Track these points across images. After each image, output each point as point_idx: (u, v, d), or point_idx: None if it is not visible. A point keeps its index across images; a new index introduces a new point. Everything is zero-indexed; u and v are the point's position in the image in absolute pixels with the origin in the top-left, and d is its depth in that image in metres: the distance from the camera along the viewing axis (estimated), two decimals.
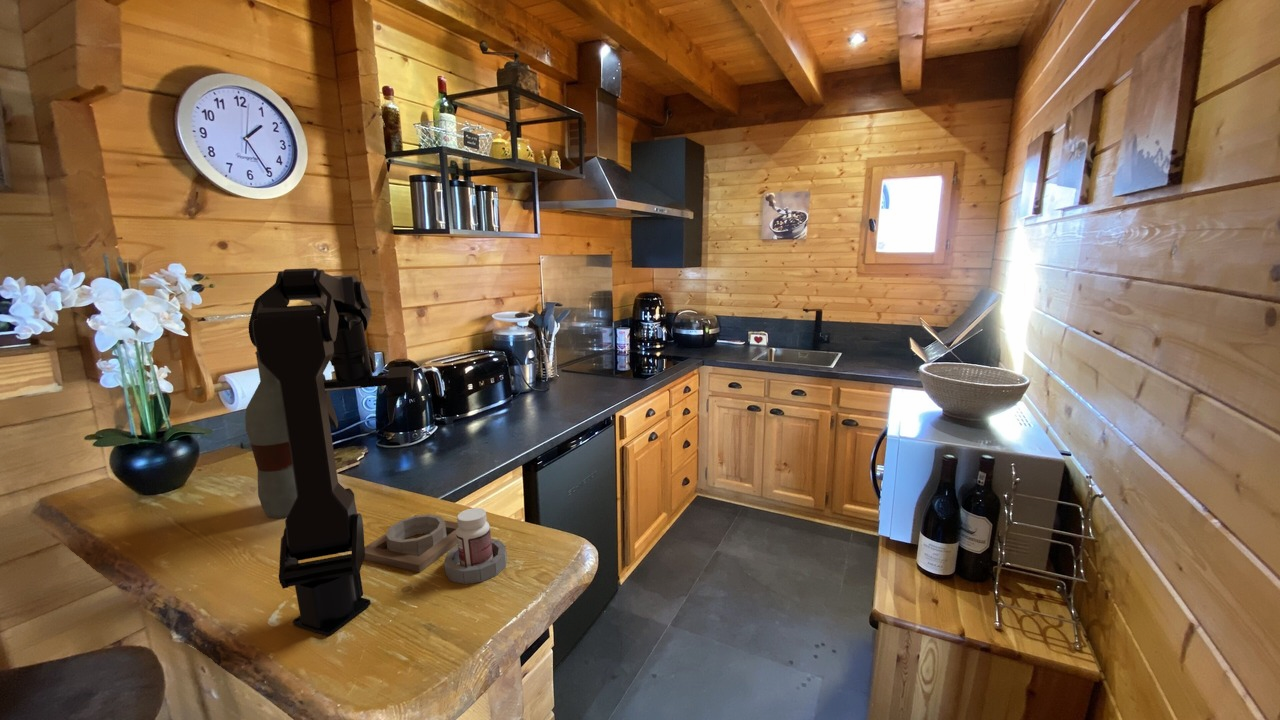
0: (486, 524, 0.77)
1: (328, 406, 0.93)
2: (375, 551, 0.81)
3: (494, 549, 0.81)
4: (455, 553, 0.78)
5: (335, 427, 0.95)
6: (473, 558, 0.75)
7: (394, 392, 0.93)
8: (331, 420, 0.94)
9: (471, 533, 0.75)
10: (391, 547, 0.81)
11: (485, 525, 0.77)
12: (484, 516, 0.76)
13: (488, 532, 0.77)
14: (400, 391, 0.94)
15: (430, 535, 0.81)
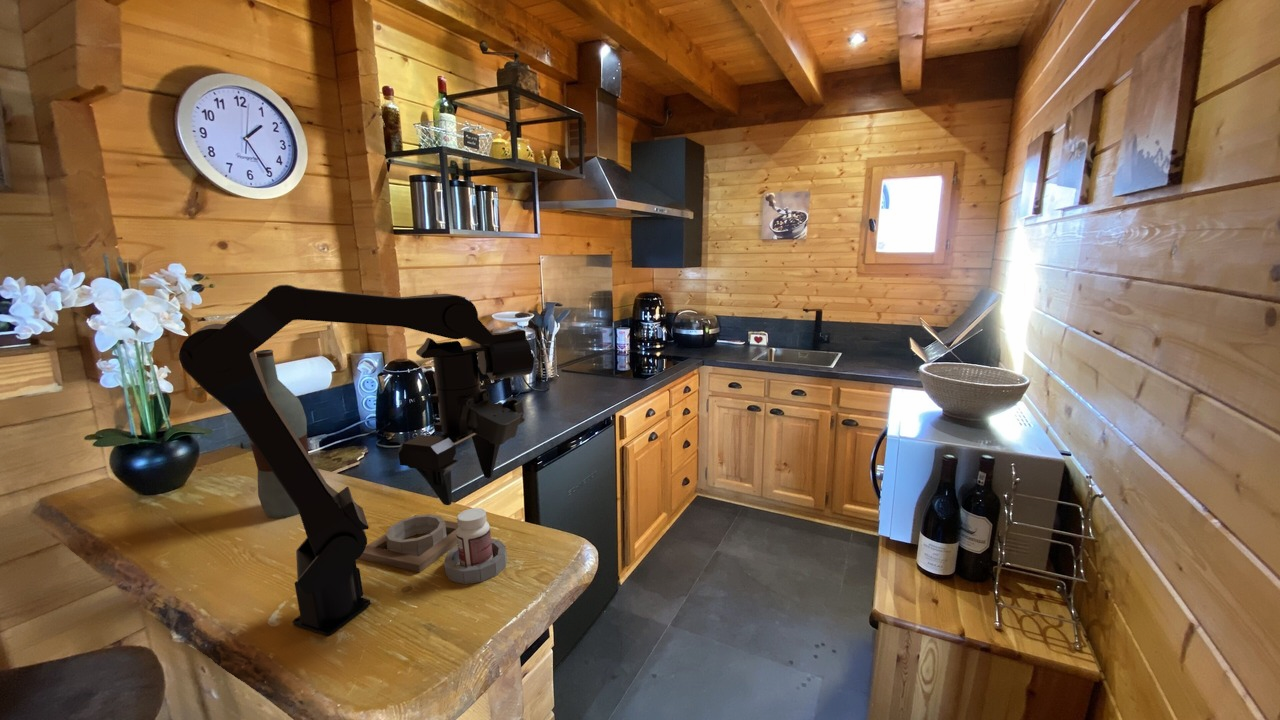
0: (486, 524, 0.77)
1: (482, 446, 0.80)
2: (375, 551, 0.81)
3: (494, 549, 0.81)
4: (455, 553, 0.78)
5: None
6: (473, 558, 0.75)
7: None
8: None
9: (471, 533, 0.75)
10: (391, 547, 0.81)
11: (485, 525, 0.77)
12: (484, 516, 0.76)
13: (488, 532, 0.77)
14: None
15: (430, 535, 0.81)
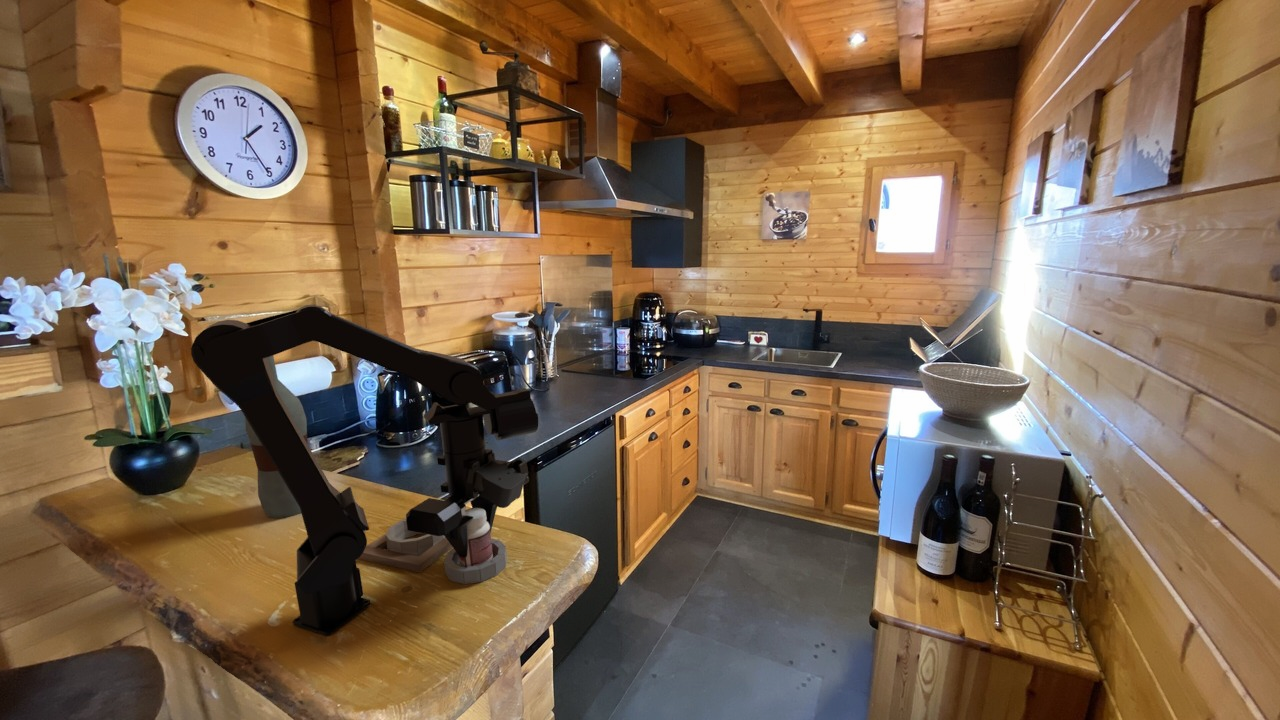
0: (486, 524, 0.77)
1: (479, 507, 0.79)
2: (375, 551, 0.81)
3: (494, 549, 0.81)
4: (455, 553, 0.78)
5: None
6: (473, 557, 0.75)
7: None
8: None
9: (471, 533, 0.75)
10: (391, 547, 0.81)
11: (485, 525, 0.77)
12: (484, 516, 0.76)
13: (488, 532, 0.77)
14: None
15: (430, 535, 0.81)
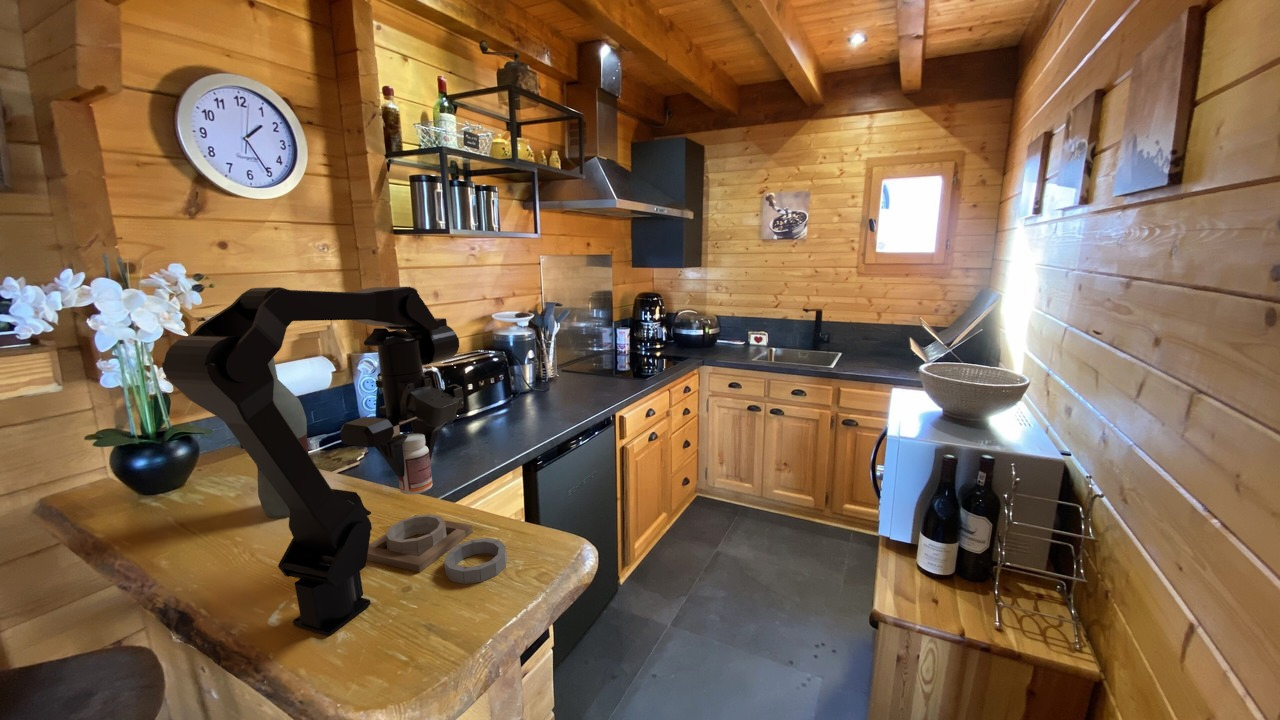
0: (425, 448, 0.81)
1: (420, 433, 0.83)
2: (375, 551, 0.81)
3: (494, 549, 0.81)
4: (455, 553, 0.78)
5: None
6: (411, 478, 0.79)
7: None
8: None
9: (408, 454, 0.79)
10: (391, 547, 0.81)
11: (423, 448, 0.81)
12: (422, 439, 0.80)
13: (426, 455, 0.81)
14: None
15: (430, 535, 0.81)
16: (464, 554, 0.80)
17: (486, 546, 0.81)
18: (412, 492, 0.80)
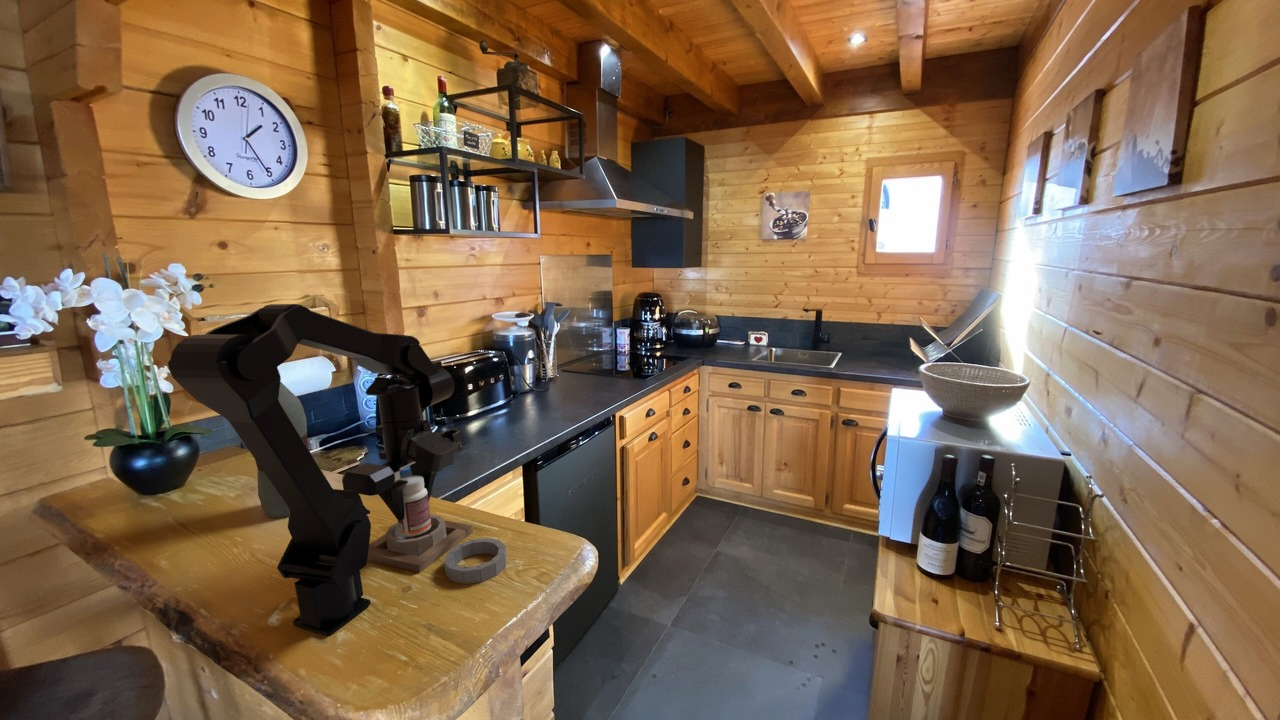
0: (423, 490, 0.83)
1: (419, 475, 0.85)
2: (375, 551, 0.81)
3: (494, 549, 0.81)
4: (455, 553, 0.78)
5: None
6: (410, 520, 0.81)
7: None
8: None
9: (407, 497, 0.81)
10: (391, 547, 0.81)
11: (422, 491, 0.83)
12: (421, 482, 0.82)
13: (425, 497, 0.82)
14: None
15: (430, 535, 0.81)
16: (464, 554, 0.80)
17: (486, 546, 0.81)
18: (412, 534, 0.81)
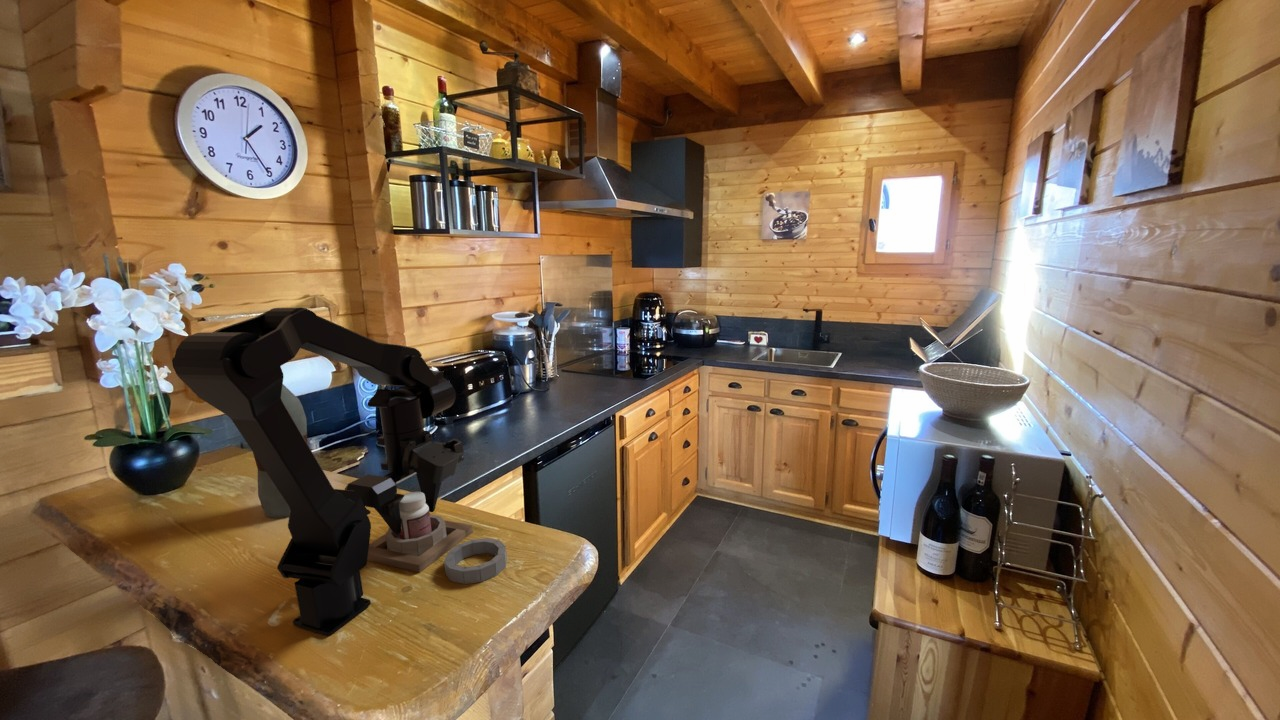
0: (425, 506, 0.83)
1: (425, 482, 0.87)
2: (375, 551, 0.81)
3: (494, 549, 0.81)
4: (455, 553, 0.78)
5: None
6: (412, 537, 0.82)
7: None
8: None
9: (409, 515, 0.81)
10: (391, 547, 0.81)
11: (424, 507, 0.83)
12: (422, 499, 0.82)
13: (426, 514, 0.83)
14: None
15: (430, 535, 0.81)
16: (464, 554, 0.80)
17: (486, 546, 0.81)
18: None
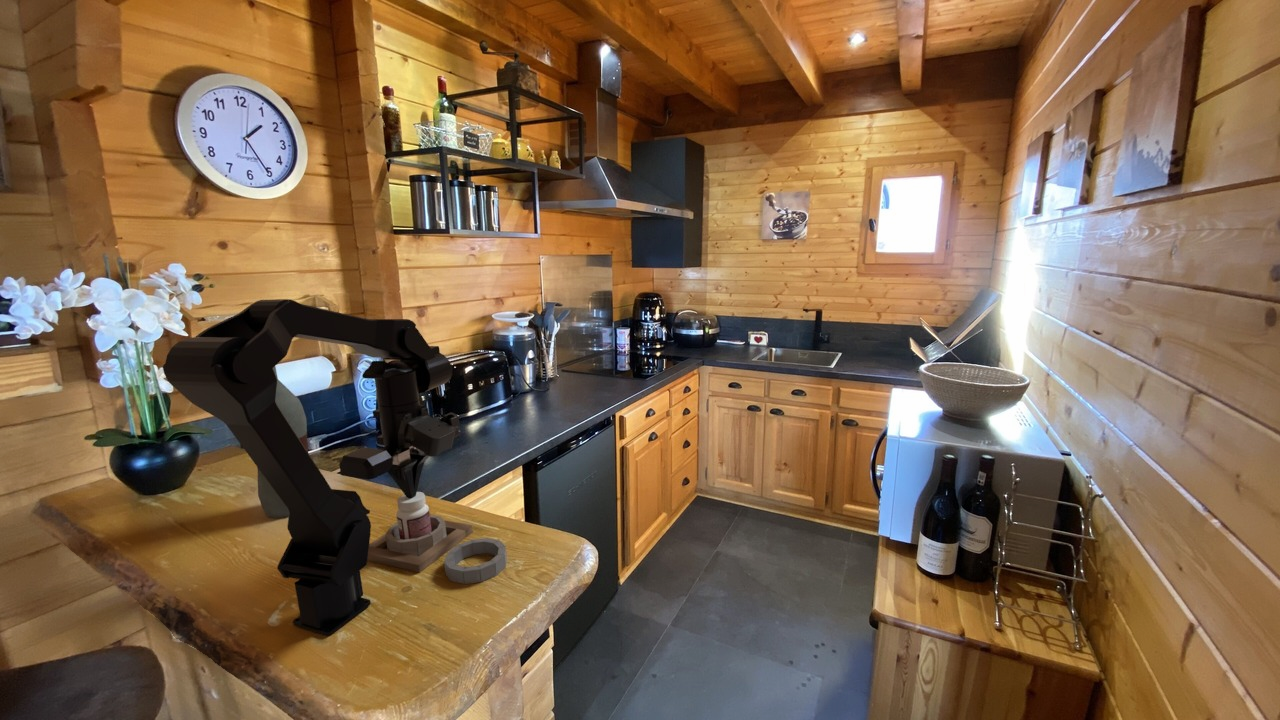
0: (425, 506, 0.83)
1: None
2: (375, 551, 0.81)
3: (494, 549, 0.81)
4: (455, 553, 0.78)
5: None
6: (412, 537, 0.82)
7: None
8: None
9: (409, 515, 0.81)
10: (391, 547, 0.81)
11: (424, 507, 0.83)
12: (422, 499, 0.82)
13: (426, 514, 0.83)
14: None
15: (430, 535, 0.81)
16: (464, 554, 0.80)
17: (486, 546, 0.81)
18: None
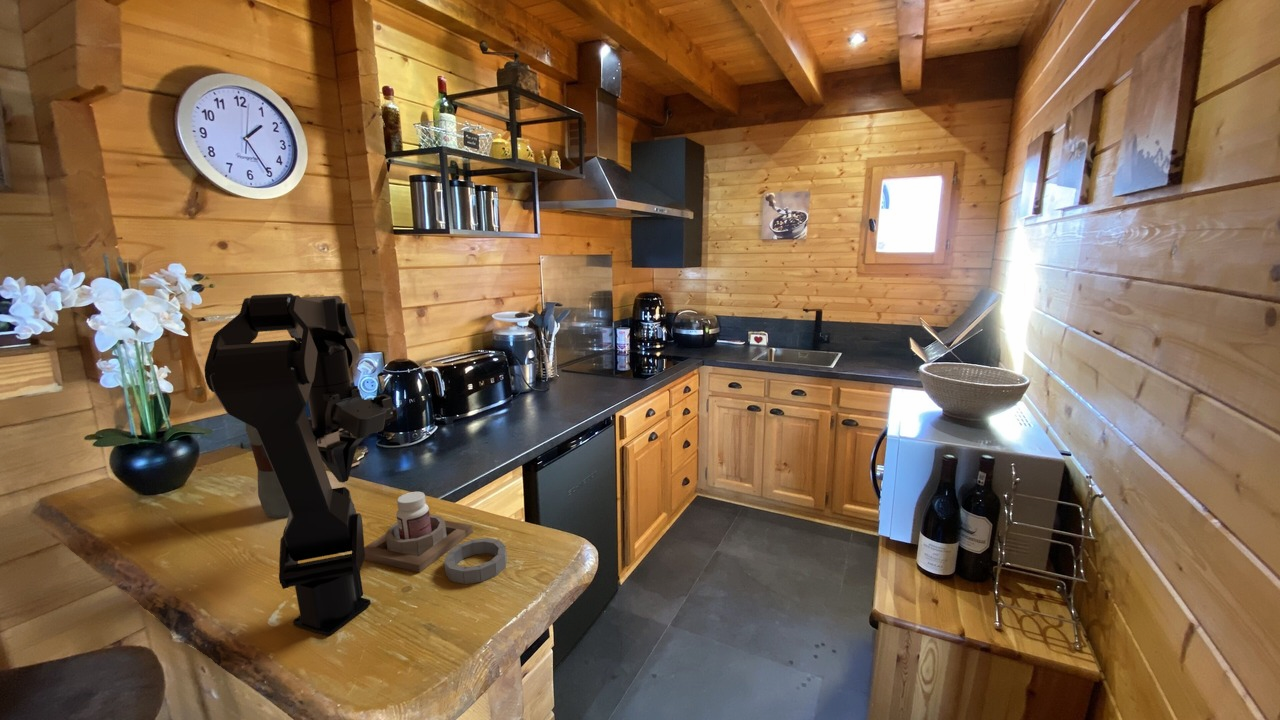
0: (425, 506, 0.83)
1: None
2: (375, 551, 0.81)
3: (494, 549, 0.81)
4: (455, 553, 0.78)
5: None
6: (412, 537, 0.82)
7: None
8: None
9: (409, 514, 0.81)
10: (391, 547, 0.81)
11: (424, 507, 0.83)
12: (422, 499, 0.82)
13: (426, 514, 0.83)
14: None
15: (430, 535, 0.81)
16: (464, 554, 0.80)
17: (486, 546, 0.81)
18: None
